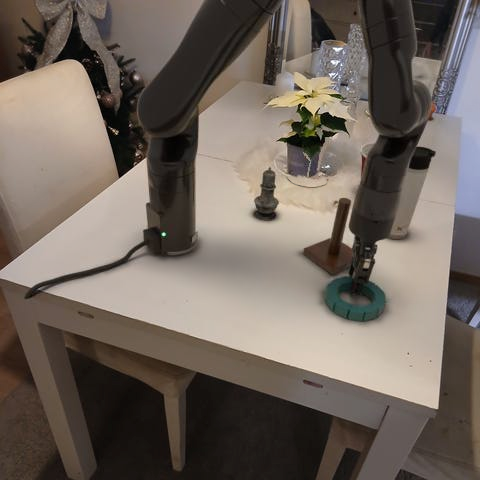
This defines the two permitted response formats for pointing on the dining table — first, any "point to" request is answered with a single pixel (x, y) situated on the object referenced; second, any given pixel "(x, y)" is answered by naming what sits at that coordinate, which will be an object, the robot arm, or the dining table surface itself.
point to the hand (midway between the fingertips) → (354, 284)
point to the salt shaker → (266, 197)
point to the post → (333, 244)
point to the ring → (354, 310)
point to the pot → (432, 110)
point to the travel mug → (411, 191)
